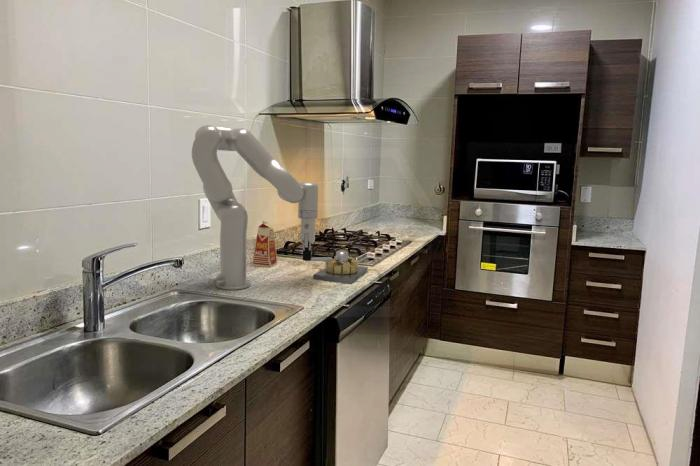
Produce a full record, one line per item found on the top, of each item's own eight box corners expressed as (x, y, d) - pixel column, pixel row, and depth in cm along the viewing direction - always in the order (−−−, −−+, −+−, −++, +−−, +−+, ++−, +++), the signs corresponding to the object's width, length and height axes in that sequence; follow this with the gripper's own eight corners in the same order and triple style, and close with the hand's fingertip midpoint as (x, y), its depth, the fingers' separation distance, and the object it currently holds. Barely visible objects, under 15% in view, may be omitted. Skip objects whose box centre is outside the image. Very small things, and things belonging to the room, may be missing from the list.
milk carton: (271, 267, 225) (271, 222, 221) (251, 265, 227) (251, 220, 223) (278, 263, 234) (278, 219, 230) (258, 261, 235) (259, 218, 232)
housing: (350, 284, 203) (351, 259, 201) (313, 279, 208) (313, 255, 207) (367, 271, 224) (368, 249, 222) (333, 267, 229) (333, 245, 227)
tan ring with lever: (352, 265, 224) (353, 243, 222) (361, 273, 211) (362, 249, 210) (300, 267, 217) (301, 244, 216) (307, 275, 205) (307, 251, 203)
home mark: (327, 270, 223) (327, 269, 223) (324, 271, 222) (324, 270, 222) (318, 267, 227) (318, 267, 227) (315, 268, 226) (315, 267, 226)
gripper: (316, 217, 194) (315, 264, 197) (318, 212, 209) (317, 256, 212) (296, 216, 194) (295, 264, 197) (299, 211, 209) (299, 255, 212)
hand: (306, 260), depth 205 cm, fingers closed
